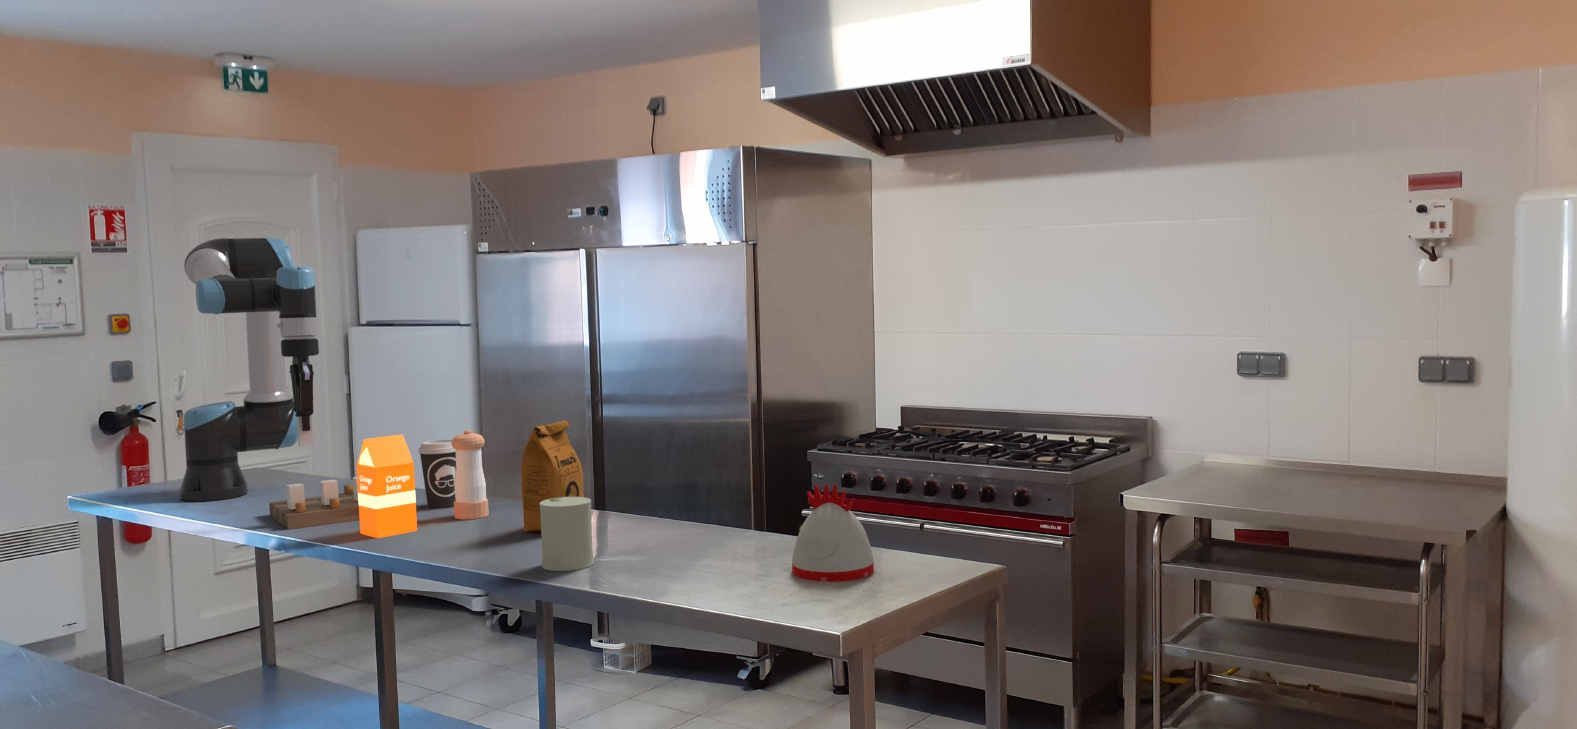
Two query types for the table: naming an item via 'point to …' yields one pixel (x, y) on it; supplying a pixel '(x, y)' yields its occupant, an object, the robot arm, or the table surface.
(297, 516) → the switch unit
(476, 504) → the pepper shaker
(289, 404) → the robot arm
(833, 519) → the kitchen timer
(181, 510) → the table surface
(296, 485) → the switch
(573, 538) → the can
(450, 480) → the coffee cup
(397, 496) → the orange juice
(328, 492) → the switch
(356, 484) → the switch
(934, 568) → the table surface
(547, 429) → the coffee package
